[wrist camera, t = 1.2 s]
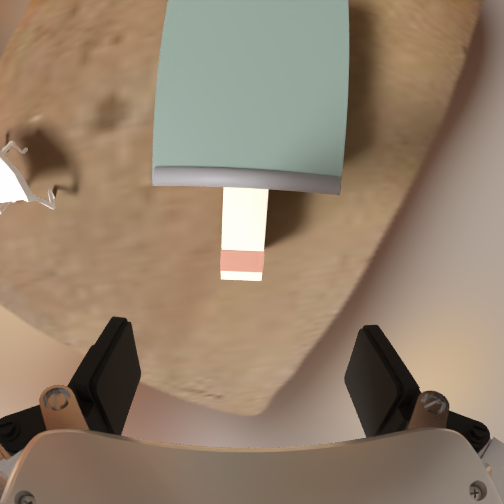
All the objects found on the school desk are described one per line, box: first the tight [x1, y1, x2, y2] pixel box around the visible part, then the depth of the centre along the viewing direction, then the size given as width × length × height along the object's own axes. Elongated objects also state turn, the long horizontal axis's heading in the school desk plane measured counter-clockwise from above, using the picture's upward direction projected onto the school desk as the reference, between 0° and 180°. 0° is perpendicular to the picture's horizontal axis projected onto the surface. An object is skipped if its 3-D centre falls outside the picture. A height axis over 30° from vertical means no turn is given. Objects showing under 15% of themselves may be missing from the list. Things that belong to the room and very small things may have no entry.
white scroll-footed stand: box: [0, 141, 55, 214], centre depth 21 cm, size 12×8×5 cm
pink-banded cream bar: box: [220, 187, 269, 281], centre depth 22 cm, size 13×3×5 cm, turn 176°
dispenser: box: [152, 0, 349, 195], centre depth 18 cm, size 16×12×8 cm
